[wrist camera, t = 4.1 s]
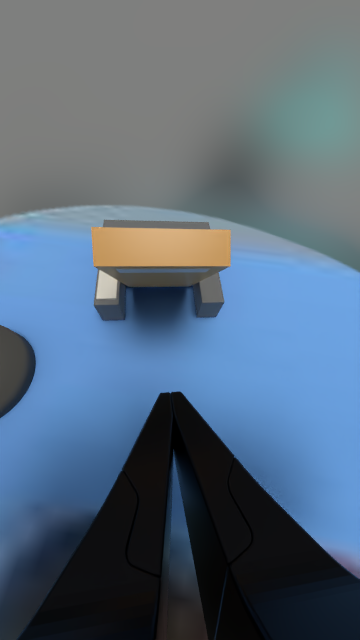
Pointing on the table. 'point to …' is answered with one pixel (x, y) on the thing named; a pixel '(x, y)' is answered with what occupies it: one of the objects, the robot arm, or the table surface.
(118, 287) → the breaker housing
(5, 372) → the ping pong paddle
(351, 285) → the table surface
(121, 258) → the block
